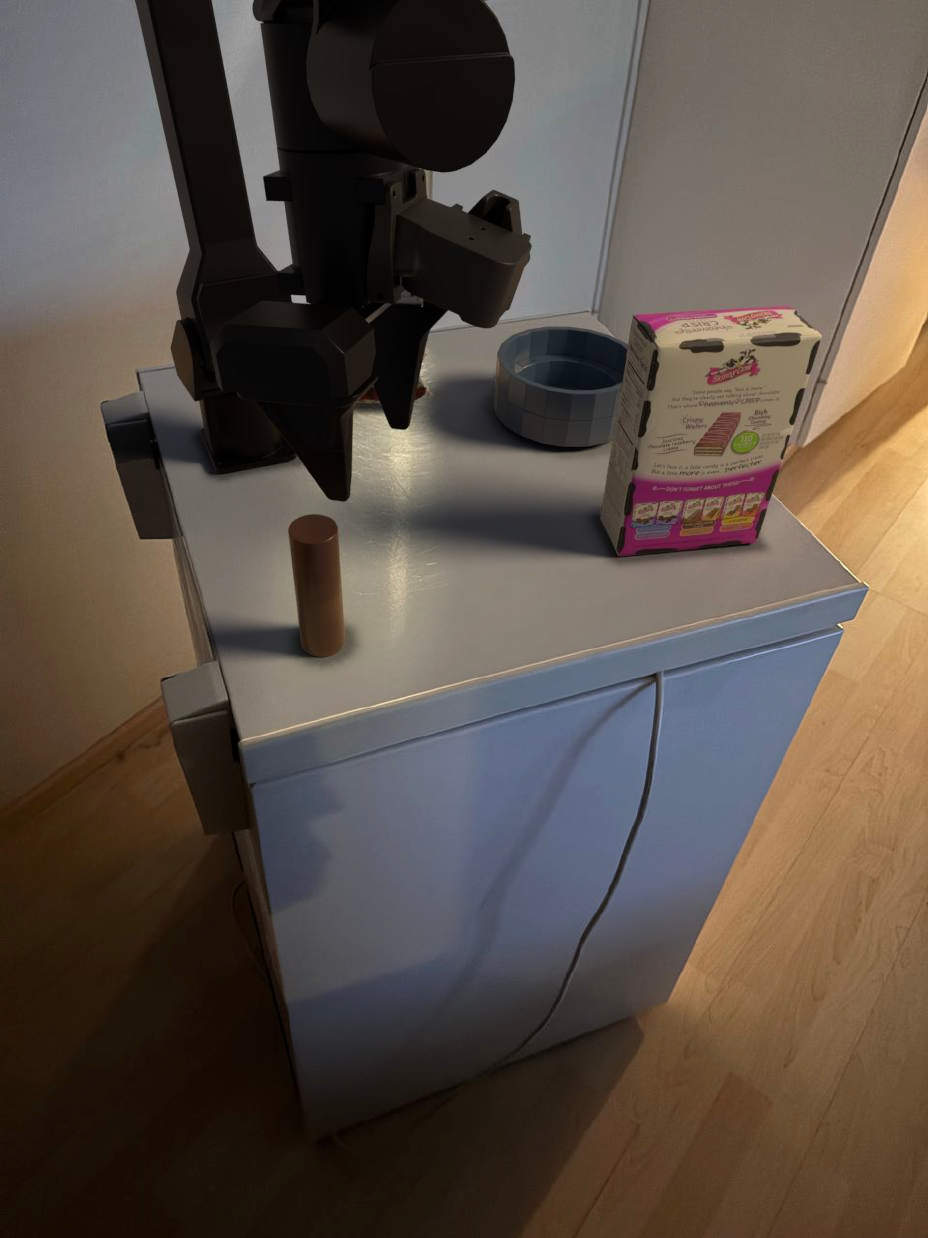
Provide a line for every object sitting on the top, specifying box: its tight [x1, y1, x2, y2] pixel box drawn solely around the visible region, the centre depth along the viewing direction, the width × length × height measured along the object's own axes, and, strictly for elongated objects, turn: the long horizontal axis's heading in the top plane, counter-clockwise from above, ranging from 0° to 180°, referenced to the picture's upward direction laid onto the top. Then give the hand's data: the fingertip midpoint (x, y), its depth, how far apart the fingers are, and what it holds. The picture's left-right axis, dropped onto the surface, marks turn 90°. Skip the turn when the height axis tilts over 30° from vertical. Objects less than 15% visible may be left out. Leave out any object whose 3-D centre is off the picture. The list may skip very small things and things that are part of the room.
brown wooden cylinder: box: [287, 513, 346, 658], centre depth 54 cm, size 3×3×9 cm
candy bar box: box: [599, 305, 823, 557], centre depth 61 cm, size 11×5×16 cm, turn 101°
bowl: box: [492, 326, 628, 448], centre depth 77 cm, size 12×12×6 cm
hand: (371, 461), depth 49 cm, fingers open, 9 cm apart
